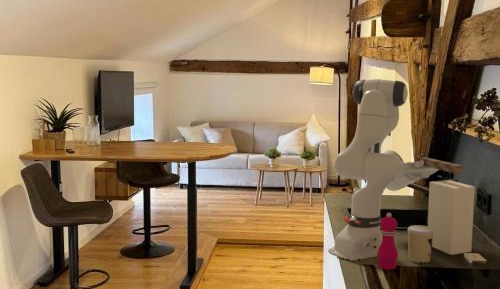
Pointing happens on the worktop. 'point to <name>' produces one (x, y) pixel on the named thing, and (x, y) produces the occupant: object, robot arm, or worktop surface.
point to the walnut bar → (443, 165)
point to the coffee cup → (420, 243)
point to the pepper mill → (387, 243)
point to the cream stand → (451, 216)
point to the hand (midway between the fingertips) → (428, 161)
